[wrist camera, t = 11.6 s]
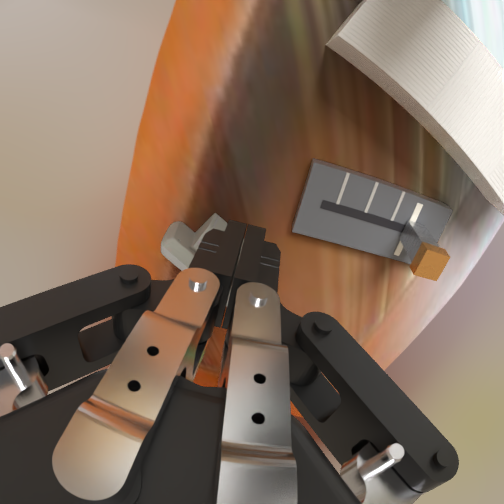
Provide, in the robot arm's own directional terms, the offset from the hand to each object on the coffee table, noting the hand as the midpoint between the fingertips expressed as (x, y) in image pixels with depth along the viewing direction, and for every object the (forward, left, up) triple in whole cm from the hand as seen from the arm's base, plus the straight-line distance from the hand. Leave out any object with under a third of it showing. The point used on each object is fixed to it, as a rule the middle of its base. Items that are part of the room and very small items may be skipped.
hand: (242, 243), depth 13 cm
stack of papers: (-11, +20, -30) cm, 37 cm away
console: (+8, +16, -29) cm, 34 cm away
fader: (+8, +22, -27) cm, 35 cm away
